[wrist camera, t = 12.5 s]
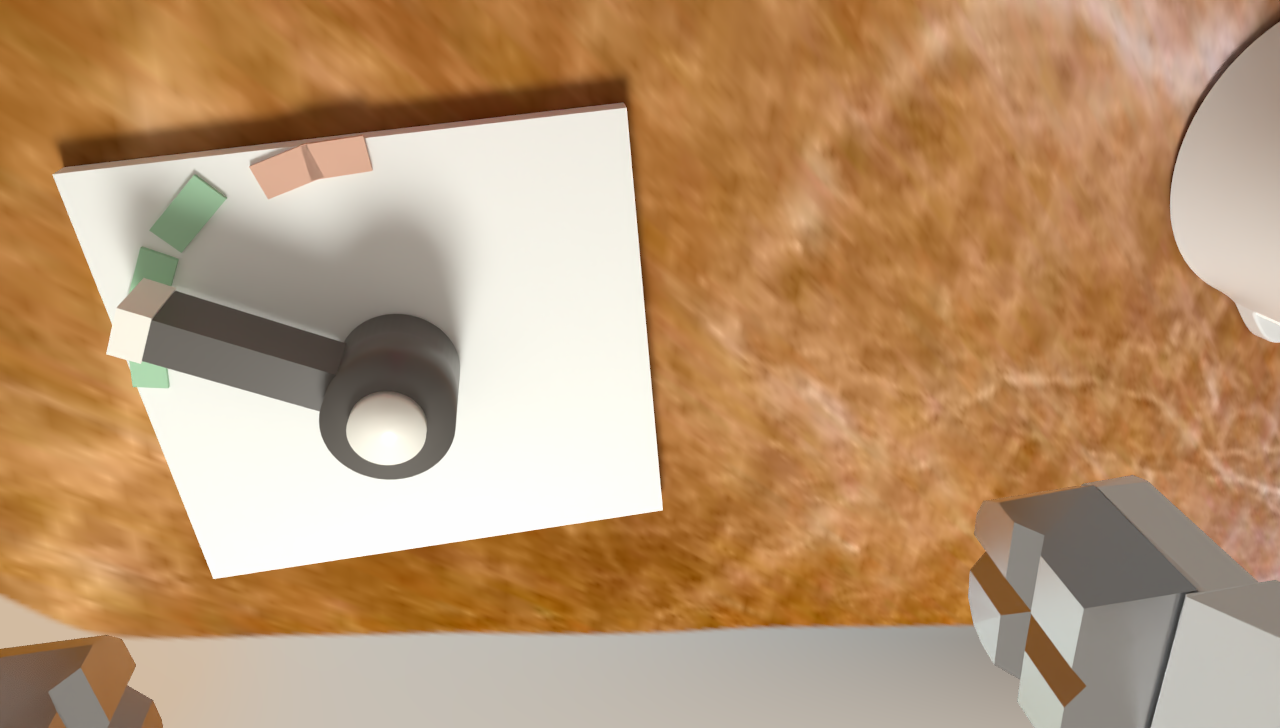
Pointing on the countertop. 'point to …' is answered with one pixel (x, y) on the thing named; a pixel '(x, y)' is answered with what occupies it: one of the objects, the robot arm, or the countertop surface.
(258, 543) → the tuner board
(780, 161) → the countertop surface
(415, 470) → the dial
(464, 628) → the countertop surface
